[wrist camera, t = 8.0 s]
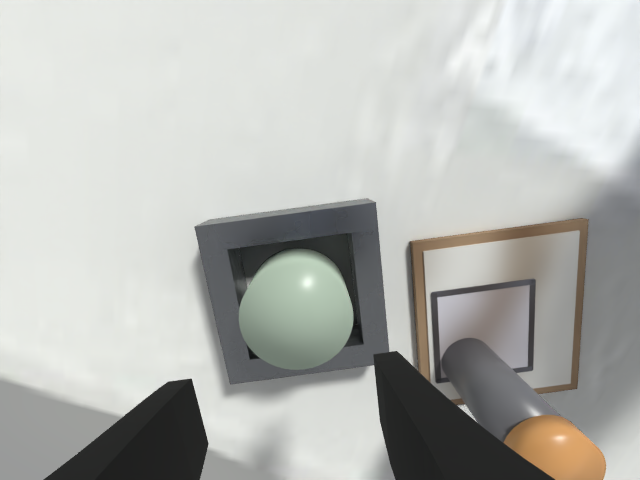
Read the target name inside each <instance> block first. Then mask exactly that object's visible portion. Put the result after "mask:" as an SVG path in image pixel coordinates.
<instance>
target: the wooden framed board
mask: <svg viewBox="0 0 640 480" xmlns="http://www.w3.org/2000/svg"><path fill="white" fill-rule="evenodd" d="M588 220H589V219H583V218H580V219H573V220H565V221H558V222H550V223H543V224H535V225H528V226H520V227H513V228H506V229H498V230H491V231H483V232H476V233H468V234H461V235H453V236H446V237H438V238H431V239H424V240H416V241H410V247H411V262H412V277H413V292H414V307H415V322H416V337H417V352H418V367H419V372H420V373H421V374H422V375H423V376H424V377H425V378H426V379H427V380H428V381H429V382H430V383H431V384H433V385H434V386H435V387H436V388H437V389H438V390H439V391H440V392H442V393H443V394H444V395H445V396H446V397H447V398H449V399H450V400H451V401H452V402H453V403H454V404H456V405H460V404H465V403H464V401H463V400H462V398H461V397H460V395H459V394H458V392H457V391H456V390H455V388H454V387H453V385H452V384H451V382H450V381H449V379H448V378H447V376H446V375H445V373H444V371H443V368H442V358H443V355H444V353H445V351H446V349H447V348H448V347H449V346H450V345H451V344H453V343H454V342H456V341H458V340H460V339H464V338H476V339H479V340H481V341H483V342H484V343H486V344H487V345H488V346H489V347H490V348H491V349H492V350H493V351H494V352H495V353H496V354H497V355H498V356H499V357H500V358H501V359H502V360H503V361H504V362H505V363H506V364H507V365H508V366H509V367H511V368H512V369H513V370H514V371H515V372H516V373H517V374H518V375H519V376H520V377H521V378H522V379H523V380H524V381H525V382H526V383H527V384H528V385H529V386H530V387H531V388H532V389H533V390H534V391H535V392H536V393H537V394H542V393H549V392H557V391H564V390H572V389H577V384H578V370H579V355H580V340H581V325H582V310H583V295H584V280H585V265H586V250H587V235H588Z"/></svg>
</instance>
